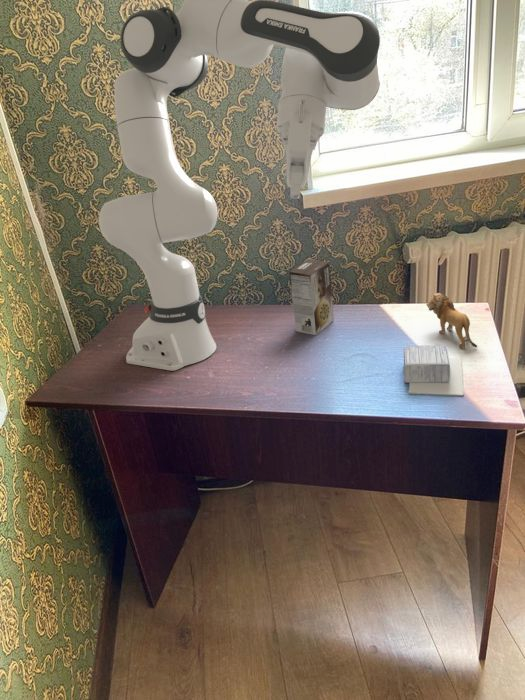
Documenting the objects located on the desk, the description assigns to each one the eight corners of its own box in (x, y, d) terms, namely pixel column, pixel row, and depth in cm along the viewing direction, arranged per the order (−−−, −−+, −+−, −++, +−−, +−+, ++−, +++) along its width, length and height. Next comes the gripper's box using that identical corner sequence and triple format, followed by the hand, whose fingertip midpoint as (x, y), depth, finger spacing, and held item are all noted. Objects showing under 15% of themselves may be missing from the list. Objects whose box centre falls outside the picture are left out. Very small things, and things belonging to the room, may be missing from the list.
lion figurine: (422, 328, 128) (423, 294, 124) (440, 322, 130) (441, 288, 125) (467, 352, 116) (469, 315, 112) (486, 345, 117) (489, 308, 113)
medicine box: (404, 383, 108) (449, 383, 106) (404, 363, 106) (450, 364, 104) (403, 363, 114) (446, 363, 112) (403, 344, 112) (447, 344, 110)
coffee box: (313, 316, 141) (308, 258, 134) (334, 320, 138) (330, 261, 130) (294, 331, 135) (287, 271, 128) (316, 336, 132) (311, 274, 124)
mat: (408, 393, 105) (408, 392, 105) (412, 358, 117) (412, 356, 116) (463, 396, 102) (463, 394, 102) (460, 359, 114) (461, 358, 113)
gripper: (321, 95, 89) (315, 177, 88) (314, 145, 109) (309, 212, 109) (283, 92, 89) (277, 175, 89) (284, 143, 109) (278, 210, 109)
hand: (294, 196), depth 99 cm, fingers closed
